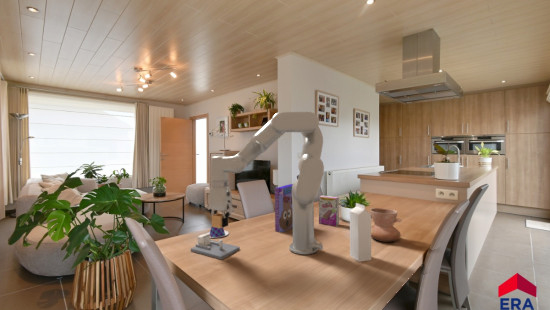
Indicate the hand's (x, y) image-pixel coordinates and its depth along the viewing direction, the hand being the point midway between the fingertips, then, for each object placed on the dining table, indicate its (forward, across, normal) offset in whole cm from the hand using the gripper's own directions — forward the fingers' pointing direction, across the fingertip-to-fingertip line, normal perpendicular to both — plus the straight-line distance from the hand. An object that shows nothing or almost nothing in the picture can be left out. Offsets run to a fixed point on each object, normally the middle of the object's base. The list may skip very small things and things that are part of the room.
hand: (220, 225), depth 109 cm
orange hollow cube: (0, 0, 0) cm, 0 cm away
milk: (+12, -55, -23) cm, 61 cm away
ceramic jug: (+12, -60, -51) cm, 80 cm away
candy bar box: (+12, -29, -62) cm, 69 cm away
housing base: (+12, +3, 0) cm, 12 cm away
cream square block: (+11, +10, 0) cm, 15 cm away
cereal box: (+12, -10, -44) cm, 47 cm away
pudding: (+12, +17, -16) cm, 27 cm away
